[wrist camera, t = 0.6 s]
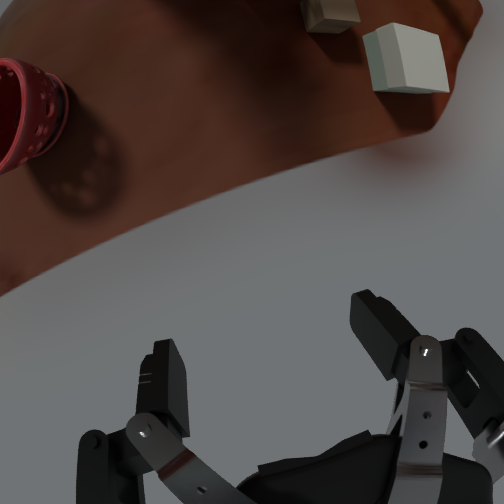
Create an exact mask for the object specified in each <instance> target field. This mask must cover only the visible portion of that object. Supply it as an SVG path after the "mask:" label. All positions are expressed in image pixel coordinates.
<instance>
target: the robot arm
mask: <svg viewBox="0 0 504 504" xmlns="http://www.w3.org/2000/svg"><path fill="white" fill-rule="evenodd" d="M350 325H351V328H352V330H353V332H354V334H355V335H356V337H357V338H358V339H359V341H360V342H361V344H362V345H363V347H364V348H365V350H366V351H367V352H368V354H369V355H370V357H371V358H372V360H373V361H374V363H375V364H376V366H377V367H378V368H379V370H380V371H381V373H382V374H383V376H384V377H385V379H386V380H387V381H388V380H390V379H393V378H396V379H397V381H398V383H397V385H396V393H395V398H394V405H393V410H392V415H391V420H390V423H389V426H388V428H387V432H386V434H376V435H371V434H370V432H369V430H366V431H364V432H362V433H359V434H357V435H354V436H352V437H350V438H347V439H344V440H342V441H341V442H339V443H338V444H336V445H335V446H333V447H332V448H330V449H329V450H327V451H325V452H324V453H322V454H321V455H318V456H315V457H304V458H290V459H283V460H279V461H275V462H271V463H267V464H263V465H258V470H259V471H258V472H256V473H254V474H252V475H251V476H249V477H247V478H246V479H245V480H243V481H242V482H241V483H240V484H239V485H238V486H237V487H236V488H235V487H233V486H232V485H231V484H230V483H228V482H227V481H226V480H225V479H223V478H222V477H221V476H220V475H218V474H217V473H216V472H215V471H213V470H212V469H211V468H210V467H209V466H207V465H206V464H205V463H204V462H203V461H202V460H201V459H199V458H198V457H197V456H196V455H195V454H194V453H193V452H191V451H190V450H188V448H186V447H185V446H184V445H183V443H182V438H184V437H190V431H189V417H188V400H187V379H186V369H185V365H184V363H183V360H182V358H181V356H180V355H179V352H178V350H177V348H176V346H175V343H174V341H173V340H172V339H166V340H160V341H155V342H154V349H153V354H149V355H146V356H145V358H144V360H143V361H142V363H141V366H140V376H139V385H138V394H137V404H136V413H135V416H133V417H132V418H131V419H130V420H129V421H128V423H127V425H126V427H125V428H124V429H122V430H119V431H116V432H113V433H110V434H108V435H106V434H105V433H103V432H102V431H100V430H90V431H88V432H86V433H85V434H84V435H83V436H82V437H81V439H80V442H79V449H78V461H77V478H76V479H77V480H76V504H146V503H145V494H144V485H143V474H145V473H148V472H151V471H153V470H155V471H156V472H157V473H158V477H159V479H160V480H161V481H162V482H163V483H164V484H165V485H166V486H167V487H168V489H169V490H170V491H171V492H172V493H173V494H174V495H175V496H176V497H177V498H178V499H179V500H181V502H182V503H184V504H493V496H492V495H493V494H492V493H493V484H494V483H495V482H496V481H497V480H498V479H500V478H501V477H502V476H503V475H504V361H503V360H502V359H501V358H500V356H499V355H498V354H497V353H496V352H495V351H494V349H493V348H492V347H491V346H490V345H489V344H488V343H487V341H486V340H485V339H484V338H483V337H482V336H481V335H480V334H479V333H478V332H477V331H476V330H474V329H471V328H462V329H460V330H458V332H457V333H456V335H455V338H454V339H449V340H444V341H438V340H437V339H436V338H434V337H432V336H429V335H421V334H420V333H419V332H418V331H417V330H416V329H415V328H414V327H413V326H412V325H411V323H410V322H409V321H408V320H407V319H406V318H405V317H404V316H403V315H401V313H400V312H399V311H398V310H397V309H396V307H395V306H394V305H393V304H392V303H391V302H390V301H388V300H386V299H384V298H382V297H376V296H375V295H374V294H373V293H372V292H371V291H370V290H368V289H366V290H363V291H360V292H357V293H353V294H352V296H351V309H350ZM468 371H469V372H470V373H471V375H472V376H473V377H474V379H475V380H476V381H477V383H478V384H479V388H480V389H479V388H478V386H477V385H476V384H475V382H474V381H473V380H472V378H471V377H470V376H469V374H468V373H467V372H468ZM447 397H448V398H449V400H450V401H451V403H452V405H453V406H454V408H455V409H456V411H457V412H458V414H459V415H460V417H461V419H462V420H463V422H464V423H465V425H466V427H467V428H468V430H469V432H470V433H471V435H472V437H473V438H474V443H473V452H472V456H473V457H474V458H475V459H476V462H475V461H471V460H468V459H464V458H461V457H457V456H454V455H450V454H447V453H444V452H443V450H444V441H445V431H446V417H447Z"/></svg>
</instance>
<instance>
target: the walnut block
mask: <svg viewBox="0 0 504 504" xmlns="http://www.w3.org/2000/svg"><path fill="white" fill-rule="evenodd" d="M299 4H300V8H301V12H302V16H303V20H304V24H305V28H306V32H319V33H336V34H339V33H341V32H343V31H345V30H347V29H349V28H351V27H352V26H354V25H356V24H358V23H360V18H359V14H358V11H357V8H356V4H355V1H354V0H302V1H301V2H300V3H299Z"/></svg>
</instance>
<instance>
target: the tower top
mask: <svg viewBox="0 0 504 504" xmlns="http://www.w3.org/2000/svg"><path fill="white" fill-rule="evenodd" d="M376 32H377V36H378V40H379V44H380V49H381V53H382V58H383V63H384V68H385V74H386V79H387V85H388V88H396V89H407V90H417V91H425V92H449V86H448V80H447V74H446V68H445V63H444V58H443V53H442V49H441V45H440V40H439V36H438V35H435V34H432V33H429V32H426V31H423V30H419V29H416V28H412V27H409V26H405V25H401V24H397V23H391V24H388V25H385V26H383V27H380V28H378V29H376Z"/></svg>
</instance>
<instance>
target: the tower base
mask: <svg viewBox="0 0 504 504" xmlns="http://www.w3.org/2000/svg"><path fill="white" fill-rule="evenodd" d="M362 37H363V41H364V45H365V50H366V54H367V59H368V64H369V69H370V74H371V80H372V86H373V91H386V92H402V93H413V94H425V93H431V92H425V91H417V90H407V89H396V88H388V85H387V79H386V74H385V68H384V63H383V58H382V53H381V49H380V44H379V40H378V36H377V32H376V31H374V32H371V33H369V34H366V35H364V36H362Z"/></svg>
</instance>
